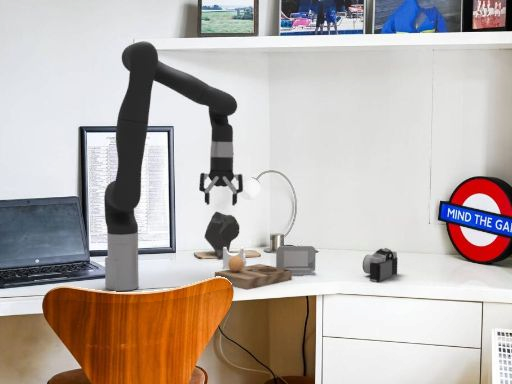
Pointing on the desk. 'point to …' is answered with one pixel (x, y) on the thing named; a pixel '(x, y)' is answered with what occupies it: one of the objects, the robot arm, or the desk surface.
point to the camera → (381, 265)
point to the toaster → (296, 259)
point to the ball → (235, 263)
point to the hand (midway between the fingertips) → (220, 204)
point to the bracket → (229, 255)
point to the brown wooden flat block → (256, 276)
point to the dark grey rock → (221, 232)
